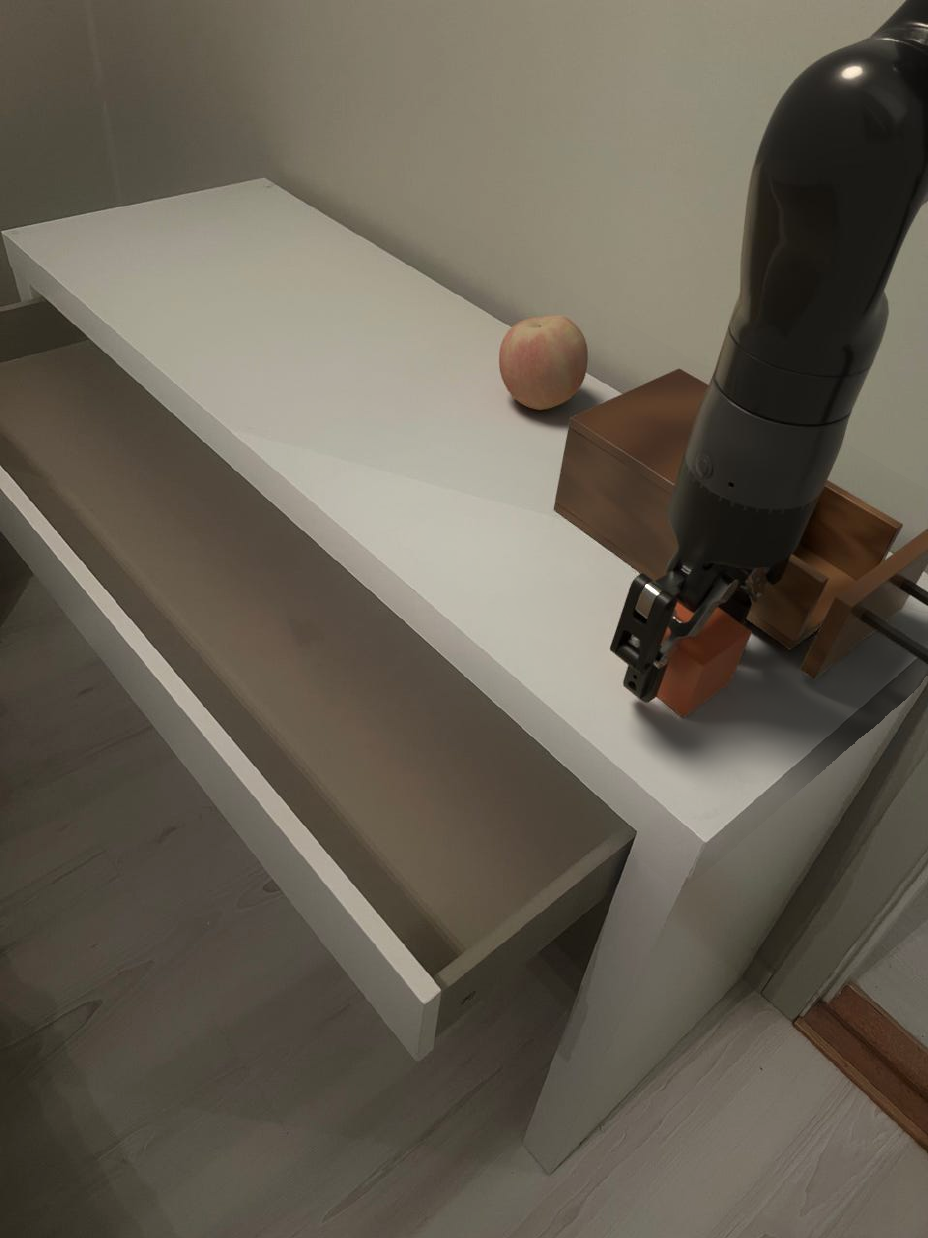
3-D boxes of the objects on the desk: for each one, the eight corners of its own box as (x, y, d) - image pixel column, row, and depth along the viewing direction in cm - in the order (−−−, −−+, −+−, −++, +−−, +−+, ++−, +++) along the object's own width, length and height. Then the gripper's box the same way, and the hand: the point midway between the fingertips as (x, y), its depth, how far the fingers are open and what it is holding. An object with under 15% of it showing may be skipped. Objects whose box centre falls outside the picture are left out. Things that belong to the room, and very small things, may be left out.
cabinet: (795, 545, 73) (834, 455, 67) (694, 613, 67) (727, 520, 61) (655, 456, 81) (679, 367, 75) (552, 509, 74) (569, 416, 68)
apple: (559, 375, 89) (572, 295, 83) (594, 418, 84) (611, 337, 78) (482, 385, 87) (490, 304, 81) (514, 430, 82) (525, 347, 76)
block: (730, 683, 62) (752, 631, 59) (683, 718, 60) (703, 666, 56) (673, 639, 65) (691, 587, 61) (625, 672, 62) (641, 619, 59)
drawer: (988, 663, 64) (1038, 592, 60) (903, 744, 59) (951, 672, 54) (752, 513, 74) (779, 442, 70) (660, 569, 69) (682, 496, 64)
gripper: (730, 549, 44) (653, 753, 56) (886, 451, 52) (789, 649, 63) (615, 471, 48) (565, 677, 60) (775, 390, 55) (703, 587, 67)
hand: (681, 662), depth 61 cm, fingers open, 8 cm apart
